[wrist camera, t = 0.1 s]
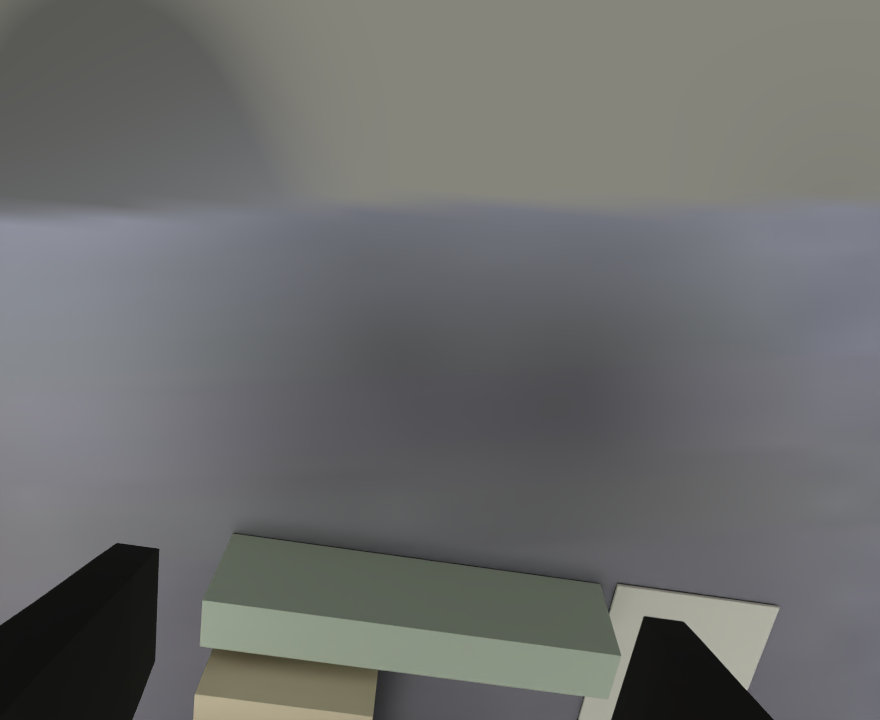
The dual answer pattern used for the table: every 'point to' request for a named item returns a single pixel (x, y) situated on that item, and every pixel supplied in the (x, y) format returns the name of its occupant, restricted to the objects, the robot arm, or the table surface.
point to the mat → (711, 618)
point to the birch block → (282, 689)
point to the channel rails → (410, 617)
